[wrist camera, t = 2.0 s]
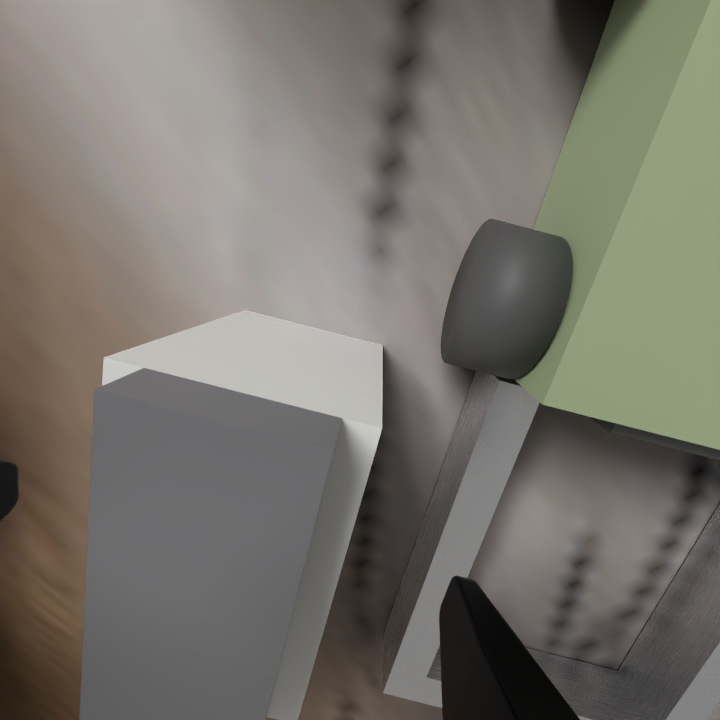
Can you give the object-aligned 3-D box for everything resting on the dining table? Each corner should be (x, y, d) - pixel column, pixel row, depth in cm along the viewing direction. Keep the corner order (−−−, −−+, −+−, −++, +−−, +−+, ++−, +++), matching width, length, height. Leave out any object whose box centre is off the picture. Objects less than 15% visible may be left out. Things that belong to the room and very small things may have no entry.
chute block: (382, 344, 11) (382, 462, 5) (334, 523, 13) (284, 792, 7) (245, 309, 11) (45, 376, 5) (216, 493, 13) (43, 731, 7)
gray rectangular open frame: (799, 442, 11) (885, 479, 9) (633, 699, 14) (672, 766, 12) (479, 360, 11) (499, 380, 9) (382, 635, 14) (383, 693, 12)
